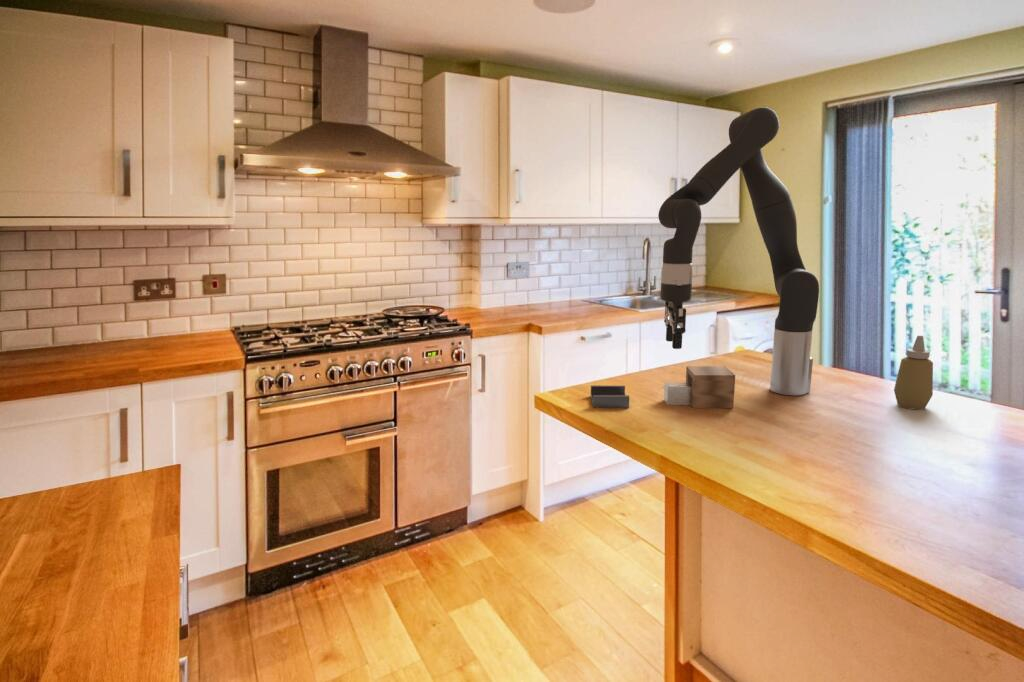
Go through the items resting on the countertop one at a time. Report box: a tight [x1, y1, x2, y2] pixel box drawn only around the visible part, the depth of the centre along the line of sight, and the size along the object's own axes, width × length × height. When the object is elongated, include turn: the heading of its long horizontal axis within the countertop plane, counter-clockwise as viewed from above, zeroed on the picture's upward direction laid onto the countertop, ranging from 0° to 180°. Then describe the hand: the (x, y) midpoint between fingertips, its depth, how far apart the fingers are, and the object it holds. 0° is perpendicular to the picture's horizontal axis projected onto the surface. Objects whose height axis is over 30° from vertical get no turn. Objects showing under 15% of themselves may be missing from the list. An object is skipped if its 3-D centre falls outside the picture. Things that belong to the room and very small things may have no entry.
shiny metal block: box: [663, 381, 692, 406], centre depth 157 cm, size 11×4×5 cm, turn 87°
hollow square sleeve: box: [685, 365, 736, 409], centre depth 157 cm, size 10×9×8 cm
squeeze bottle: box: [893, 335, 934, 410], centre depth 150 cm, size 8×8×18 cm
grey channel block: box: [590, 384, 630, 409], centre depth 159 cm, size 9×10×3 cm
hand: (673, 344), depth 155 cm, fingers open, 8 cm apart
